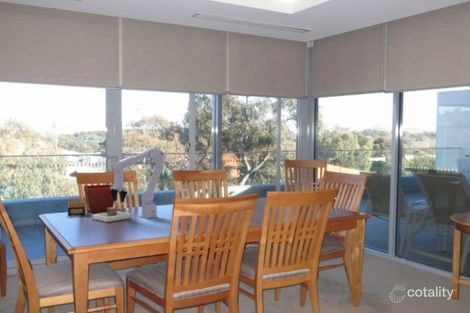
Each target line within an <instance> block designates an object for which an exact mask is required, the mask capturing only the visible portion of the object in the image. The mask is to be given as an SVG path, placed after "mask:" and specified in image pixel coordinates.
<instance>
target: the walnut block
mask: <svg viewBox="0 0 470 313" xmlns="http://www.w3.org/2000/svg"><path fill="white" fill-rule="evenodd" d="M117 211H118V210H117V207H114V206H113V207H111V208H107V212H106V213H107V217H110V216H116V215H117Z"/></svg>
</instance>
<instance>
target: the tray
mask: <svg viewBox="0 0 470 313" xmlns="http://www.w3.org/2000/svg"><path fill="white" fill-rule="evenodd" d="M131 217H132V213H129V212H124V211H119V210H117V215H116V216H110V217H107V212H99V213H95V214H93V213H92V220H94V221H99V222H103V223H109V222H110V223H111V222H116V221H122V220H129V219H131Z"/></svg>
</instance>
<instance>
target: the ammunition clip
mask: <svg viewBox="0 0 470 313" xmlns="http://www.w3.org/2000/svg"><path fill="white" fill-rule="evenodd" d="M67 200H68V201H67V216H85V215H86V197H85V195H83V196H77V197H76V196H74V198H73V196H71V197H70V196H69V197H68V199H67Z"/></svg>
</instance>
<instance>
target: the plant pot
mask: <svg viewBox="0 0 470 313" xmlns="http://www.w3.org/2000/svg"><path fill="white" fill-rule="evenodd" d="M111 186H114V184H91V185H83V192H84V198H85V202H86V204H87V207H88V211H90V212H91V213H107V208H111V207H114V205H115V204H114V203H115V201H113V197H112V194H111V192H110V190H111Z"/></svg>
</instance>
